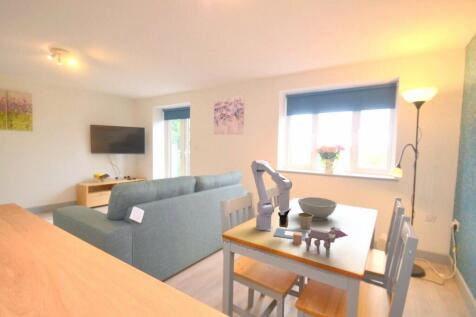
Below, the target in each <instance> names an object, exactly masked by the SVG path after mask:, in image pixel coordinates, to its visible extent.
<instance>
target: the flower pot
mask: <svg viewBox="0 0 476 317" xmlns="http://www.w3.org/2000/svg"><path fill="white" fill-rule="evenodd" d="M297 215H298V219H299V228H300V229H302V230H311V225H312V220H313V219H312V217H313V215H312V214H310V213H304V212H298V214H297Z"/></svg>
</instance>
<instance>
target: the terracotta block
mask: <svg viewBox="0 0 476 317" xmlns="http://www.w3.org/2000/svg"><path fill="white" fill-rule="evenodd" d="M302 243H303V240H302V233H301V232H294V233H293V239H292V244H294V245H295V244H296V245H302Z"/></svg>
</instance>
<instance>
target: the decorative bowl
mask: <svg viewBox="0 0 476 317" xmlns="http://www.w3.org/2000/svg"><path fill="white" fill-rule="evenodd" d="M297 203H298V206H299V207H300V210H301V211H302V213H310V214H312V215H313V217H312V220H314V221H324V220H326V218H328V217H330V216H331V215H333V213H334V212H335V210H336V208H337V205H338V204H337V202H336V201H335V200H332V199H329V198H325V197H315V196H307V197H301V198H299V199H298V200H297Z"/></svg>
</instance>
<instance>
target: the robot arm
mask: <svg viewBox="0 0 476 317" xmlns="http://www.w3.org/2000/svg"><path fill="white" fill-rule="evenodd" d="M250 167H251V171H252V175H253V180H254V182H255V183H254V184H255V187H256V190H257V195H258V198H259V200H258V202H257V204H256V205H257V206H256V207H257V214H256V218H255V222H256V224H255V230H259V231H266V232H267V231H268V232H271V231H272V229H273V225H272V216H273V213H274V212H275V206H274V204H273V202H272V201H271V200H270V199H269V198H268V194H267V189H266V187H265V183H264V179H263V174H265V172H266V173H267V174H268V175H270V177H271V181H273V182H274V183H275V184H276V186H277V189H278V193H279V195H278V196H279V201H278V202H279V203H278V210H279V211H278V212H277V214H278V217H279V218H280V221H281V225H285V223H286V218H287V217H288V218H289V213H290V211H292V207H290V196H291V195H290V193H291V189H292V187H293V182H292V180H291V179H289V178H286V177H285V176H283V175H282V174H281V172H279V171H275V170H274V168H273V167H271V165H270V164H269V162H268V161H267V160H266V159H263V160H252V162H251V165H250Z"/></svg>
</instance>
